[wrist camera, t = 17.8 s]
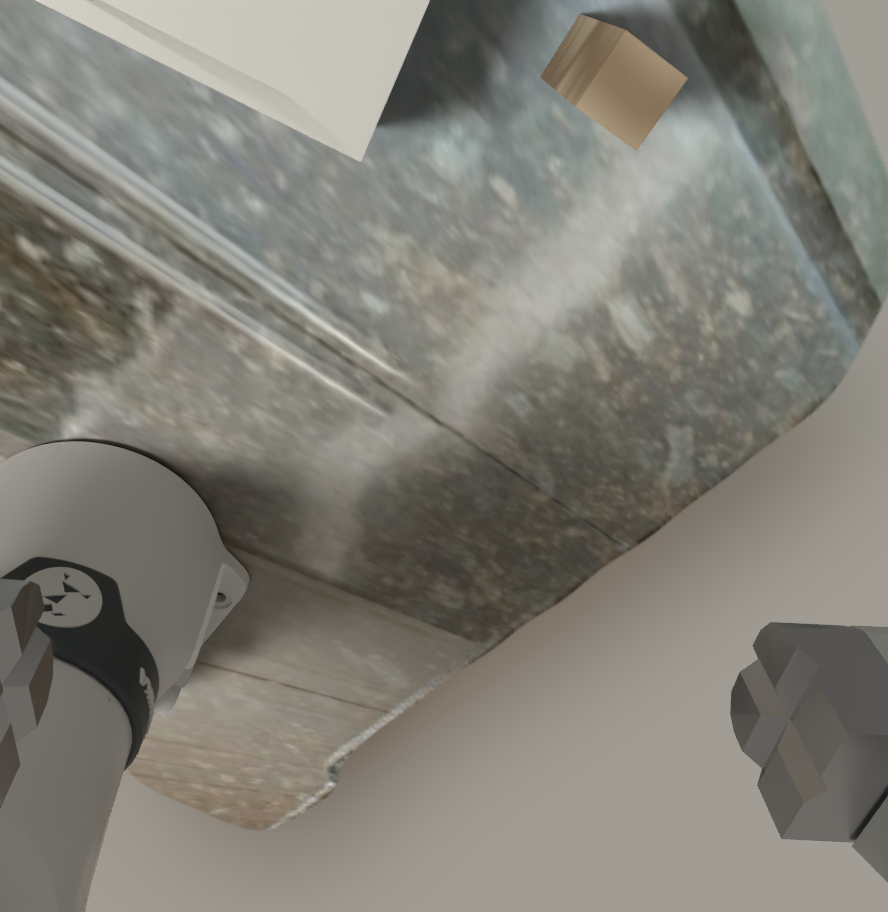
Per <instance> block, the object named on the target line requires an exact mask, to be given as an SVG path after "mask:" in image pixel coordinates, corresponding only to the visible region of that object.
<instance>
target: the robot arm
mask: <svg viewBox="0 0 888 912" xmlns="http://www.w3.org/2000/svg"><path fill="white" fill-rule="evenodd" d="M249 581H250V579H249V575H248V573H247V571H246V570H245V568H244V567H243V566H242V565H241V564H240V563H239V562H238V561H237V560H236V559H235V557H234V556H233V555H232V554H231V553H229V552H228V551H227V550H226V548H225V546H224V545H223V543H222V541H221V538H220V535H219V533H218V530H217V527H216V524H215V522H214V519H213V517H212V515H211V513H210V511H209V510H208V508H207V507H206V505H205V503H204V502H203V501H202V499H201V498H200V497H199V496H198V494H197V493H196V492H195V491H194V490H193V489H192V488H191V487H190V486H189V485H188V484H187V483H186V482H185V481H183V480H182V479H181V478H180V477H178V476H177V475H176V474H175V473H173V472H172V471H170V470H169V469H167V468H166V467H164V466H162V465H161V464H159V463H157V462H155V461H153V460H151V459H149V458H147V457H145V456H142V455H140V454H138V453H135V452H132V451H129V450H126V449H123V448H119V447H115V446H111V445H106V444H101V443H93V442H78V441H71V442H57V443H50V444H44V445H40V446H36V447H33V448H30V449H27V450H25V451H22V452H20V453H18V454H16V455H14V456H12V457H10V458H9V459H7V460H5V461H4V462H2V463H0V912H85V909H86V905H87V900H88V895H89V891H90V886H91V883H92V879H93V875H94V872H95V868H96V865H97V861H98V857H99V854H100V850H101V847H102V843H103V840H104V836H105V832H106V829H107V825H108V822H109V818H110V814H111V812H112V808H113V804H114V801H115V798H116V795H117V791H118V788H119V785H120V781H121V778H122V775H123V772H124V771H125V770H126V768H127V767H128V766H129V765H130V764H131V763H132V762H133V760H134V759H135V757H136V755H137V754H138V752H139V749H140V746H141V744H142V742H143V739H145V735H146V734H147V733H148V730H149V727H150V724H151V721H152V717H153V714H154V713H155V714H158V715H161V716H164V715H165V716H167V715H168V714H169V713H170V711H171V710H172V708H173V706H174V705H175V703H176V701H177V698H178V696H179V693H180V690H181V687H184V686H185V685H186V684H187V682H188V680H189V678H190V676H191V674H192V671H193V666H194V664H195V662H196V660H197V657H198V654H199V651H200V648H201V646H202V645H203V644H204V642H205V641H206V640H207V639H208V638H209V636H210V635H211V634H212V633H213V632H214V630H215V629H216V628H217V627H218V626H219V625H220V623H221V622H222V621H223V620H224V619H225V617H226V616H227V615H228V614H229V613H230V611H231V610H232V609H233V608H234V607H235V606H236V604H237V603H238V602H239V601H240V600H241V598H242V597H243V596H244V594H245V592H246V590H247V587H248V585H249ZM218 593H223V594H224V595H220V594H218ZM753 647H754V650H755V652H756V655H757V657H758V660H756V661H755V662H753V663H752V664H751V665H749V666H748V667H746V668H745V669H743V670H742V671H740V673H739V675H738V677H737V680H736V682H735V685H734V687H733V689H732V692H731V712H730V713H731V719H732V724H733V729H734V732H735V735H736V738H737V740H738V742H739V745H740V747H741V749H742V751H743V752H744V753H745V754H746V755H747V756H748V757H750V758H751V759H752V760H753V761H754V762H756V764H758V765H759V766H760V767H761V768H762V771H761V774H760V778H759V781H758V785H757V786H758V788H759V790H760V792H761V794H762V797H763V799H764V801H765V803H766V806H767V808H768V810H769V812H770V814H771V817H772V819H773V821H774V823H775V825H776V828H777V829H778V832H779V834H780V837H781V838H782V839H794V840H815V841H816V840H817V841H835V842H854V844H853V845H852V847H853V848H854V849H855V850H856V851H857V852H858V853H859V854H860V855H861V856H862V857H863V858H864V859H865V860H866V861H867V862H868V863H869V864H870V865H871V866H872V867H873V868H874V869H875V870H876V871H877V872H878V873H879V874H880V875H881V876H882V877H883V878H884V879H885V880H886V881H887V882H888V627H871V626H849V627H848V626H840V625H819V624H798V623H776V622H770V623H769V624H768V625H767V626H765V627H764V628H763V629H761V630H760V632H759V634H758V636H757V638H756V640H755V642H754V644H753Z"/></svg>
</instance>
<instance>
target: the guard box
mask: <svg viewBox="0 0 888 912" xmlns="http://www.w3.org/2000/svg"><path fill="white" fill-rule="evenodd" d="M36 1H38V2H40V3H42V4H44V5H46V6H48V7H50V8H52V9H54V10H56V11H58V12H60V13H62V14H64V15H66V16H68V17H70V18H72V19H74V20H76V21H78V22H80V23H82V24H84V25H86V26H88V27H90V28H92V29H94V30H96V31H98V32H100V33H102V34H104V35H106V36H108V37H110V38H112V39H114V40H116V41H118V42H120V43H122V44H124V45H126V46H128V47H130V48H132V49H134V50H136V51H138V52H140V53H142V54H144V55H146V56H148V57H150V58H152V59H154V60H156V61H158V62H160V63H162V64H164V65H166V66H168V67H171V68H173V69H175V70H177V71H179V72H181V73H183V74H185V75H187V76H189V77H191V78H193V79H195V80H197V81H199V82H201V83H203V84H205V85H207V86H209V87H211V88H213V89H215V90H217V91H219V92H221V93H223V94H225V95H227V96H229V97H231V98H233V99H235V100H237V101H239V102H241V103H243V104H245V105H247V106H249V107H251V108H253V109H255V110H257V111H259V112H261V113H263V114H265V115H267V116H269V117H271V118H273V119H275V120H277V121H279V122H281V123H283V124H285V125H287V126H289V127H291V128H293V129H295V130H297V131H299V132H301V133H303V134H305V135H307V136H309V137H311V138H313V139H315V140H317V141H319V142H321V143H323V144H325V145H328V146H330V147H332V148H334V149H336V150H338V151H340V152H342V153H344V154H346V155H348V156H350V157H352V158H354V159H356V160H358V161H360V162H361V160H362V158H363V156H364V153H365V151H366V148H367V146H368V144H369V141H370V139H371V137H372V134H373V132H374V130H375V127H376V125H377V123H378V120H379V118H380V116H381V113H382V111H383V109H384V106H385V104H386V102H387V99H388V97H389V95H390V92H391V90H392V88H393V85H394V83H395V81H396V78H397V76H398V74H399V71H400V69H401V67H402V64H403V62H404V60H405V57H406V55H407V53H408V50H409V48H410V46H411V43H412V41H413V39H414V36H415V34H416V32H417V29H418V27H419V25H420V22H421V20H422V18H423V15H424V13H425V11H426V8H427V6H428V4H429V1H430V0H36Z"/></svg>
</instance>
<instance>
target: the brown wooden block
mask: <svg viewBox="0 0 888 912" xmlns="http://www.w3.org/2000/svg"><path fill="white" fill-rule="evenodd" d="M541 78H542V79H543V80H544V81H546V82H547V83H548V84H549V85H550V86H551V87H553V88H554V89H555V90H556V91H557V92H559V93H560V94H561V95H562V96H563V97H564V98H566V99H567V100H568V101H569V102H570V103H572V104H573V105H574V106H575V107H576V108H578V109H579V110H581V111H582V112H583V113H585V114H586V115H587V116H589V117H590V118H592V119H593V120H594V121H596V122H597V123H599V124H600V125H601V126H603V127H604V128H606V129H607V130H608V131H610V132H611V133H613V134H614V135H615V136H617V137H618V138H620V139H621V140H622V141H624V142H625V143H627V144H628V145H629V146H631V147H632V148H634V149H635V150H636V151H637V150H638V148H639V147H640V145H641V144H642V143H643V141H644V140H645V138H646V137H647V135H648V134H649V133H650V131H651V130H652V128H653V127H654V126H655V124H656V123H657V121H658V120H659V119H660V117H661V116H662V114H663V113H664V112H665V110H666V109H667V107H668V106H669V105H670V103H671V102H672V100H673V99H674V98H675V96H676V95H677V93H678V92H679V90H680V89H681V88H682V86H683V85H684V83H685V82H686V81H687V79H688V78H687V77H686V76H685V75H683V74H682V73H681V72H680V71H678V70H677V69H676V68H674V67H673V66H672V65H671V64H669V63H668V62H667V61H665V60H664V59H663V58H662V57H660V56H659V55H658V54H656V53H655V52H654V51H653V50H651V49H650V48H649V47H647V46H646V45H645V44H644V43H642V42H641V41H640V40H638V39H637V38H636V37H635V36H633V35H632V34H631V33H630V32H628V31H627V30H625V29H622V28H619V27H617V26H614V25H611V24H608V23H605V22H602V21H599V20H596V19H594V18H591V17H588V16H585V15H582V14H579V16H578V18H577V19H576V21H575V23H574V24H573V26H572V27H571V29H570V31H569V32H568V34H567V35H566V37H565V39H564V40H563V42H562V43H561V45H560V47H559V48H558V50H557V51H556V53H555V55H554V56H553V58H552V59H551V61H550V63H549V64H548V66H547V67H546V69H545V71H544V72H543V74H542V75H541Z"/></svg>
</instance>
